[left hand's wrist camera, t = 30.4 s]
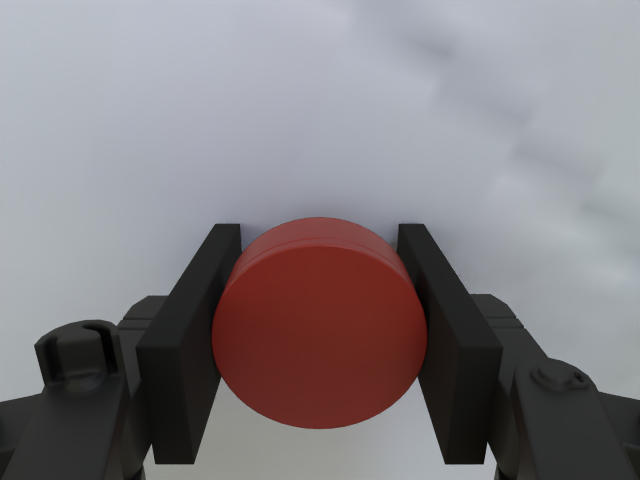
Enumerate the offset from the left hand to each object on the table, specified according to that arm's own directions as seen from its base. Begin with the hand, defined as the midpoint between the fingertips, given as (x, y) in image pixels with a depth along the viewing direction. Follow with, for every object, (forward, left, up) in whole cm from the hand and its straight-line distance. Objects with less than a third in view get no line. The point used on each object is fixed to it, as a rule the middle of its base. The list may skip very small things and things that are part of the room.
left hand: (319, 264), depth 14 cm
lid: (0, 0, +4) cm, 4 cm away
